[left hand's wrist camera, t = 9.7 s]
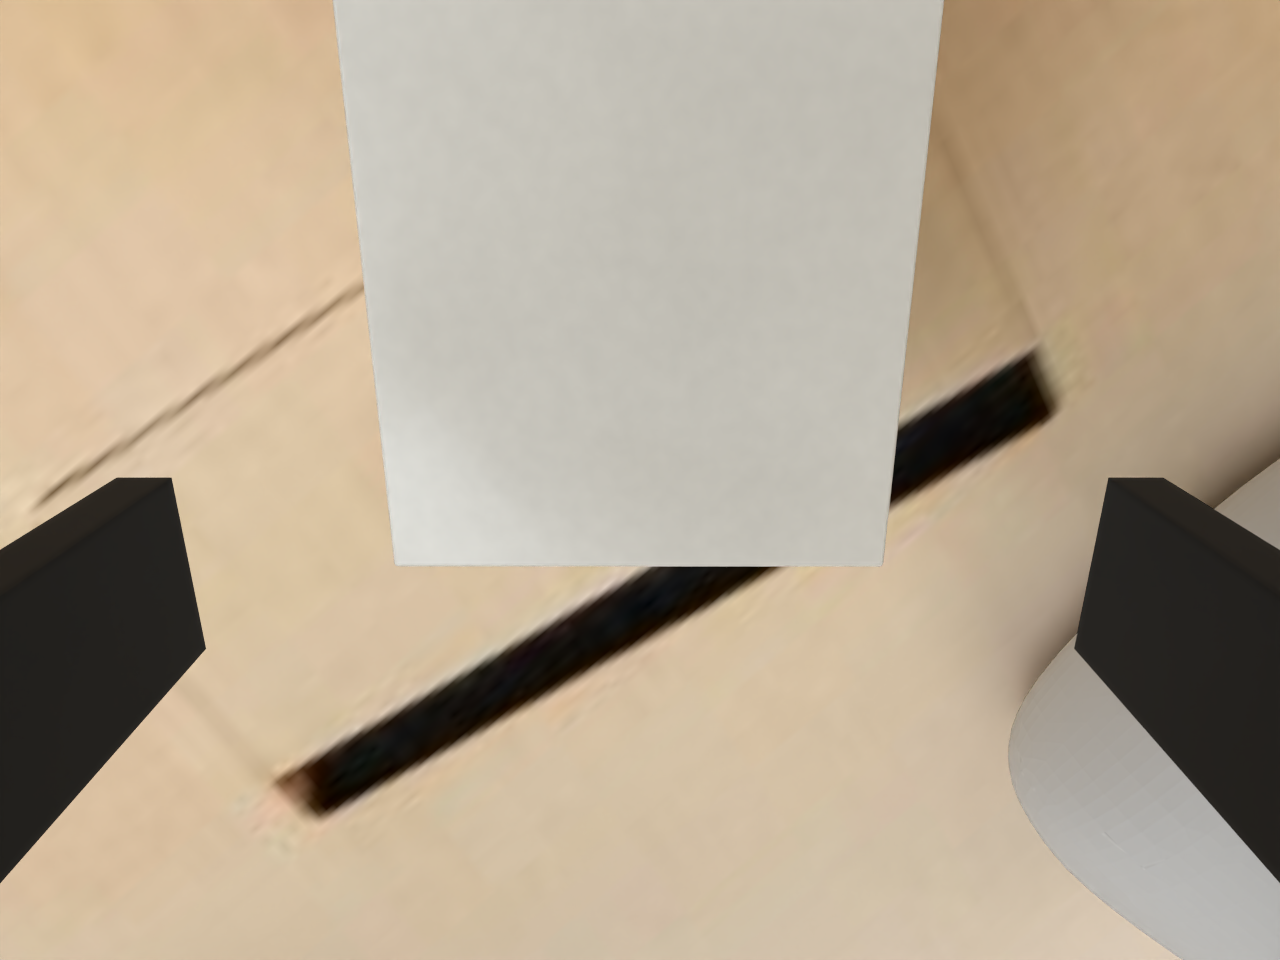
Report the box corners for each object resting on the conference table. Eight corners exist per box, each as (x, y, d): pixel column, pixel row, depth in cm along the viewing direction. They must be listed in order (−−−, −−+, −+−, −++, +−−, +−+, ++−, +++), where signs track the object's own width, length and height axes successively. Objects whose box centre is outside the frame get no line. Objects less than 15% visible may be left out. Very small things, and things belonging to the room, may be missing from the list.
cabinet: (444, -191, 23) (277, -485, 12) (833, -192, 23) (998, -486, 12) (484, 416, 29) (393, 567, 18) (794, 415, 29) (883, 567, 18)
